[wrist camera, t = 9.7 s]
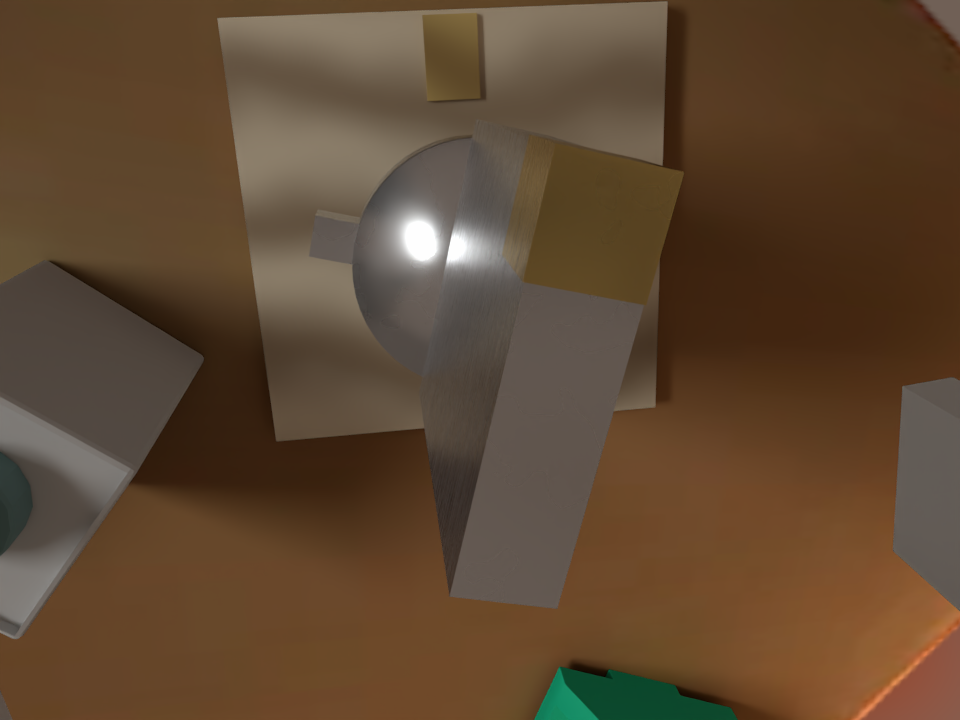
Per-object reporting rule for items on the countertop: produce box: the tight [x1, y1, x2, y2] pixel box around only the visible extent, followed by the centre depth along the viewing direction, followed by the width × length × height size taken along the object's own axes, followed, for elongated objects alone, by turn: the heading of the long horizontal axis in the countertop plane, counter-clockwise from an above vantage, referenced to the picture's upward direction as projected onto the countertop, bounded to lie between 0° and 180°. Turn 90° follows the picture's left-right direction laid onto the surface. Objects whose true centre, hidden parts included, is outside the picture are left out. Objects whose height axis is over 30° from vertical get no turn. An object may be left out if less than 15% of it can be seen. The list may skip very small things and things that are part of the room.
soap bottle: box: [0, 260, 204, 639], centre depth 31 cm, size 9×9×19 cm
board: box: [217, 1, 668, 442], centre depth 40 cm, size 20×20×2 cm
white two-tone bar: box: [309, 119, 684, 609], centre depth 26 cm, size 13×11×16 cm
